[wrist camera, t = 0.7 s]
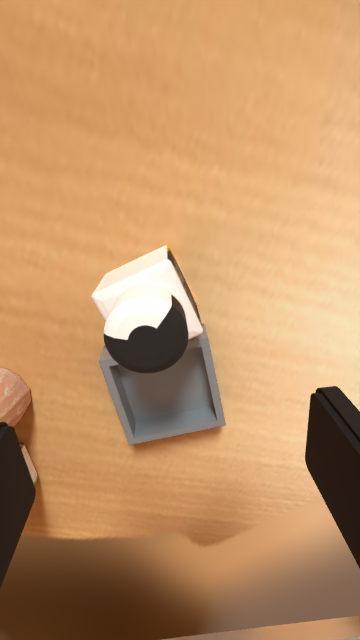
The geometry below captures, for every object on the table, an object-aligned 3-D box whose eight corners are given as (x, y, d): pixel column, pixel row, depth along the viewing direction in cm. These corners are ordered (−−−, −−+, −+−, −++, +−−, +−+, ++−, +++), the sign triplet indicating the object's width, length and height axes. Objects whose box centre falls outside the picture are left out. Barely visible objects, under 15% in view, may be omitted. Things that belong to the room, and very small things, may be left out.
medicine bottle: (197, 305, 35) (212, 362, 24) (136, 332, 36) (124, 399, 24) (168, 243, 32) (170, 274, 21) (103, 273, 33) (73, 319, 22)
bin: (220, 405, 40) (225, 425, 36) (131, 424, 40) (129, 445, 37) (203, 323, 35) (207, 337, 32) (104, 345, 36) (98, 361, 33)
